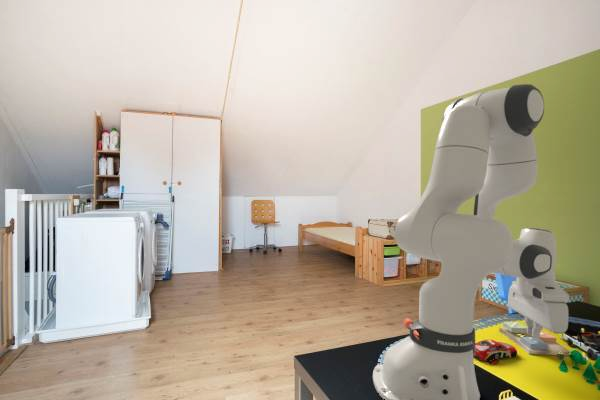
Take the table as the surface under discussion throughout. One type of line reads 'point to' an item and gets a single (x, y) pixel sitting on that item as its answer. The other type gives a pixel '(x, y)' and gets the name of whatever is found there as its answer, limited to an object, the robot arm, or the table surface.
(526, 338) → the slate tile
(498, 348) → the race car
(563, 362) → the table surface
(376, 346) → the table surface
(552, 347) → the birch board
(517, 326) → the sage tile
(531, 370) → the table surface
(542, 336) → the terracotta tile
